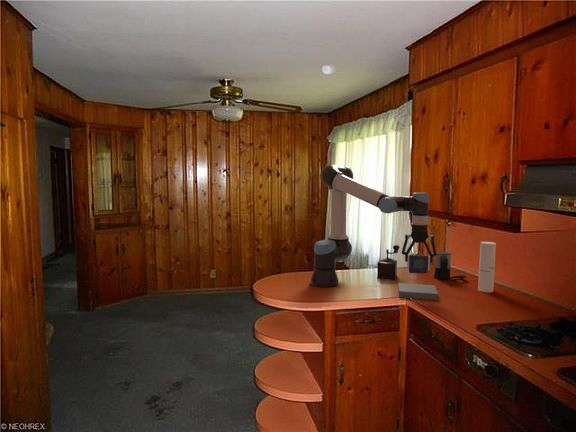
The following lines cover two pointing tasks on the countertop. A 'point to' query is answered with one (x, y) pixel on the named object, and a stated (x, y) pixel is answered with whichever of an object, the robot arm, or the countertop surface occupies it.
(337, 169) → the robot arm
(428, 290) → the base board
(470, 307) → the countertop surface
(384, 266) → the coffee grinder
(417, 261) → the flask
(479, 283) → the cylindrical container
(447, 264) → the milk frother
